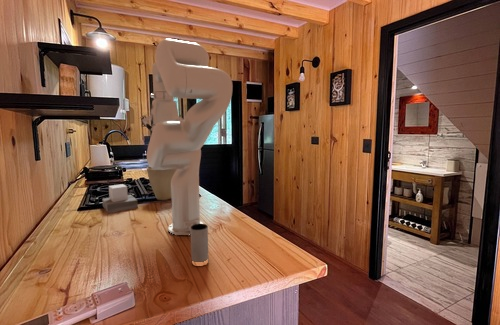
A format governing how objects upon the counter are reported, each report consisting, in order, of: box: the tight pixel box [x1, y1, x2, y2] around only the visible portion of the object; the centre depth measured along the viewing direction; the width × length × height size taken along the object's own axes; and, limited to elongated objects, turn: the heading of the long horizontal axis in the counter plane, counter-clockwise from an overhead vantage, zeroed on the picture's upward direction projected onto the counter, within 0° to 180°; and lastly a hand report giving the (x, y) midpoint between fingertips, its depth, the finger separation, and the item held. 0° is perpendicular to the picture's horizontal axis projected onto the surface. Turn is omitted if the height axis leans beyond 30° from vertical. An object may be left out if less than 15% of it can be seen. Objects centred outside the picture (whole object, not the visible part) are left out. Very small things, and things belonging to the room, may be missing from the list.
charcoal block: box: [102, 194, 139, 214], centre depth 121 cm, size 12×12×4 cm
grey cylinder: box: [190, 223, 209, 262], centre depth 73 cm, size 4×4×10 cm
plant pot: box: [146, 165, 177, 201], centre depth 135 cm, size 15×15×16 cm
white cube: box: [108, 183, 129, 202], centre depth 121 cm, size 6×6×6 cm
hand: (165, 140), depth 110 cm, fingers open, 9 cm apart
